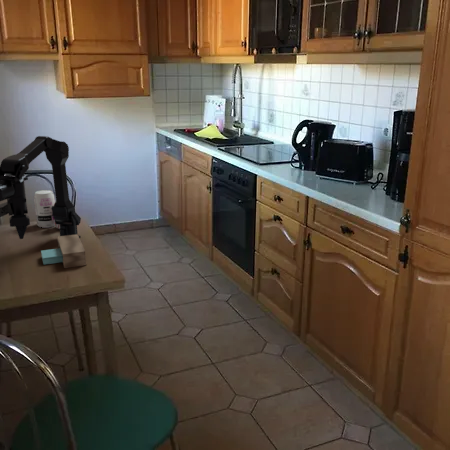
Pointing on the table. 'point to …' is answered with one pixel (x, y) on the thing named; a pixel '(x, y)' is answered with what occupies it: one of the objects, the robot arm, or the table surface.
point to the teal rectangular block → (52, 256)
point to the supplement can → (44, 208)
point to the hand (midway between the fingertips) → (21, 238)
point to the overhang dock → (72, 251)
